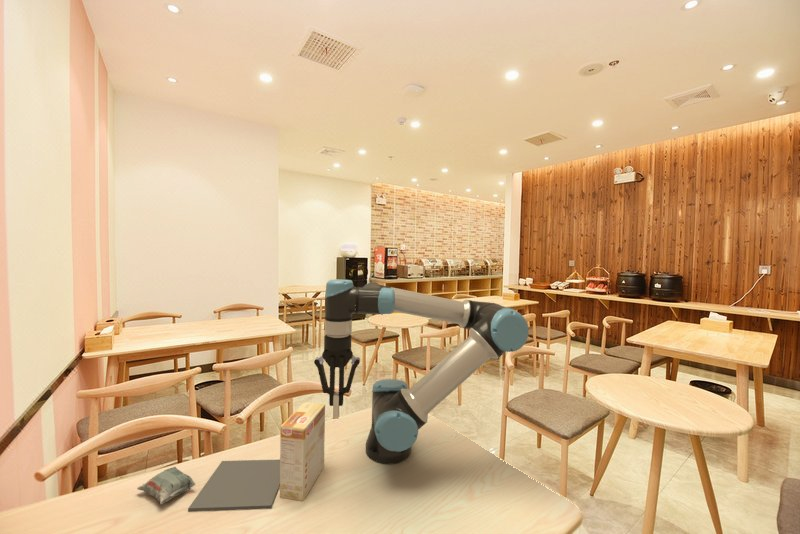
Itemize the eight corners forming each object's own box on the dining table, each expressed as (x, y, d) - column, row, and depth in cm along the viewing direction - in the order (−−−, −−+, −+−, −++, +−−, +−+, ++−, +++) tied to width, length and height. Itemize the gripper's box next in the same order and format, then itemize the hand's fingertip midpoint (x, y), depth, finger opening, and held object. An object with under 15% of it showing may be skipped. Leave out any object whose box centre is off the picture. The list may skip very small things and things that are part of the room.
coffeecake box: (303, 463, 103) (304, 401, 102) (325, 466, 102) (326, 403, 101) (278, 498, 88) (279, 425, 87) (303, 502, 87) (304, 428, 86)
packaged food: (160, 513, 82) (160, 493, 82) (136, 495, 88) (136, 476, 88) (196, 492, 90) (196, 474, 90) (172, 476, 95) (172, 459, 95)
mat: (289, 461, 103) (289, 459, 103) (271, 508, 84) (271, 505, 84) (222, 463, 102) (222, 460, 102) (188, 511, 83) (188, 508, 83)
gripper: (361, 331, 98) (359, 410, 99) (316, 331, 97) (314, 410, 98) (360, 337, 91) (358, 422, 92) (312, 337, 90) (310, 423, 91)
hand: (336, 416), depth 95 cm, fingers closed
